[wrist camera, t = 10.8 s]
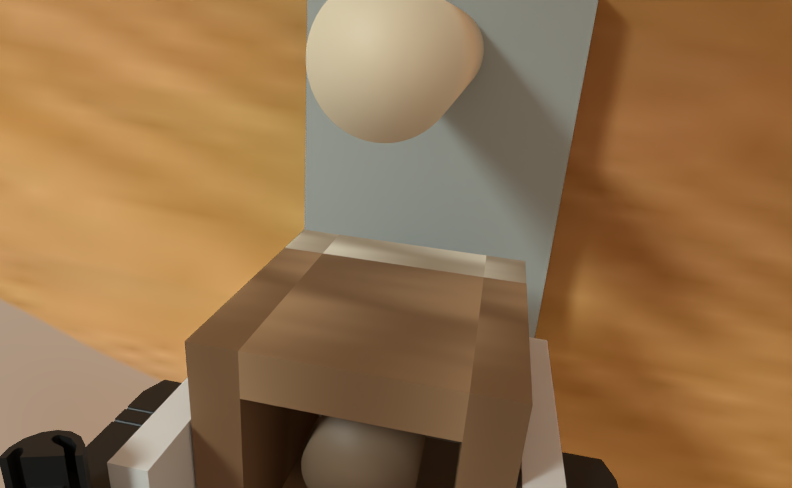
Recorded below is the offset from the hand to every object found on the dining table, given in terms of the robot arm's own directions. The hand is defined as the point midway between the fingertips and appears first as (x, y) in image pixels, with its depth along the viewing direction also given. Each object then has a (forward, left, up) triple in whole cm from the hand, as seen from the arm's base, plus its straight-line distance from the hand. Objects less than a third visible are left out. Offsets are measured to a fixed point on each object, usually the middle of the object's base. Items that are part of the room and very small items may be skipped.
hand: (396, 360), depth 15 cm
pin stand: (0, +4, -5) cm, 6 cm away
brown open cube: (0, 0, -1) cm, 1 cm away
